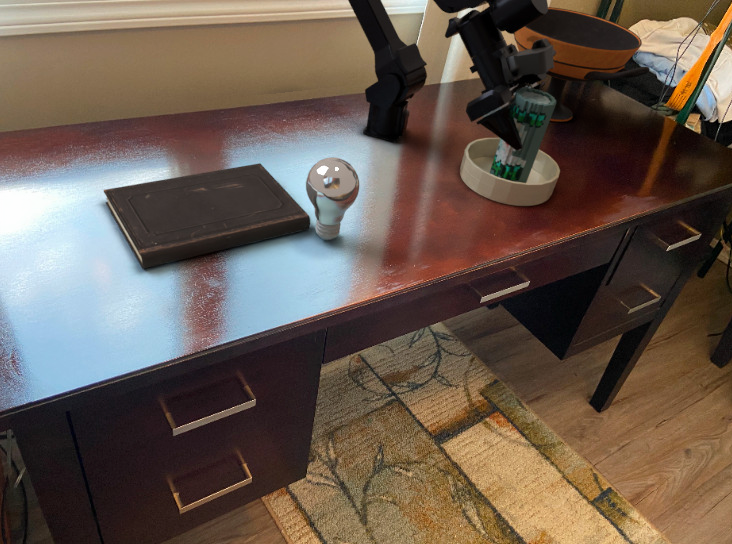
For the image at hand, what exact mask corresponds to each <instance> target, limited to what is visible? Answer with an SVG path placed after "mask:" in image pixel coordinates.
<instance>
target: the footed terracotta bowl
mask: <svg viewBox="0 0 732 544" xmlns="http://www.w3.org/2000/svg"><path fill="white" fill-rule="evenodd" d="M512 35H513V36H514V41H515V44H516V48H517V50H518V51H524V50H527V49H531V48H532V45H533V43H534V42H535V41H537V40H540V39H546V38H547V40H548V42H549V43H550V45H553V49H554V50H555V51H556V55H555V56H553V62H554V68H553V69H549V70H548V72H547V73H546V74H547V76H548V77H551V78H550V82H549V84H548V86H547V89H546V91H545V92H547V93H548V94H550V95H551V96H553V97H554V98H555V100H557V101H556V105H555V108H554V111H553V113H552V116H551V119H550V121H551V122H568V121H570V120H572V119H573V116H574V114H573V111H571V109H570V108H568V107H566V106H565V105H563V104H562V98H563V93H564V89H565V86H566V84H567V82H576V83H578V82H579V83H587V82H594V81H596V82H597V81H600V82H601V81H614V80H619V79H632V78H637V77H640V76H644V75H645V74H648V73H649V72H650V71H651V69H650V67H649V66H641V67H637V68H636V67H635V68H632V69H625V67H626V65H627V63H628V62H629V60H630V59H631V58H632V57H633V56H634V55H635V53H637V51H638V50H639V49H640V48H641V46H642V45H643V42H642V39H641V38H640V37H639V36H638V35H637V34H636V33H635V32H633V31H632V30H630V29H628V28H627V27H625V26H623V25H621V24H619V23H616V22H614V21H611V20H608V19H605V18H602V17H600V16H597V15H593V14H589V13H585V12H580V11H576V10H572V9H567V8H566V9H565V8H560V7H551V6H548V11H547V13H546V14H544V15H543V16H541V17H539V18H538V19H536V20H534V21H533V22H531V23H530V24H528V25H526V26H525V27H523V28H521V29H520V30H518V31H517V32H515V33H513V34H512ZM550 121H549V122H550Z"/></svg>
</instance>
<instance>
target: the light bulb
mask: <svg viewBox="0 0 732 544" xmlns="http://www.w3.org/2000/svg"><path fill="white" fill-rule="evenodd" d="M305 191H306V196H307V197H308V200H309V201H310V203H311V205H312V206H313V209H314V215H315V216H314V217H315V222H316V223H315V229H314V230H315V232H316V234H317V236H318V237H320V238H321V239H322V240H324V241H331V240H333V239H335V238H337V237H338V236H339V234H340V232H341V224H342V223H341V222H342V221H343V220H344V217H345V214H346V212H347V211H348V209H350V208H351V207H352V206H353V204H354V203H355V201H356V199H357V198H358V195H359V192H360V179H359V175H358V173H357V171H356V170H355V168H354V166H352V165H351V164H350V163H349V162H348V161H347V160H345V159H343V158H339V157H334V156H333V157H325V158H323V159H321V160H318V161H317V162H315V164H313V165H312V167H311V168H310V169H309V171H308V173H307V176H306V180H305Z"/></svg>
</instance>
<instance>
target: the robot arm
mask: <svg viewBox="0 0 732 544" xmlns="http://www.w3.org/2000/svg"><path fill="white" fill-rule="evenodd" d="M347 1H348V3H349V5H350V7H351V9H352V12H353V13H354V15H355V18H356V19H357V21H358V23H359V25H360V27H361V29H362V31H363V33H364V35H365V37H366V39H367V41H368V44H369V45H370V47H371V49H372V51H373V54H374V73H375V76H376V79H377V81H375V82H374V83H373V84H370V85H369V86H368V87H366V88H365V89H364V95H365V100H366V102H367V103H369V106H368V107H369V108H368V114H367V121H366V126H365V127H364V128H363V130H362V134H364V135H367V136H371V137H375V138H378V139H381V140H385V141H388V142H392V143H397V142H398V141H399V139H400V138H402V137H403V136H404V135H405V133H406V132H407V128H408V123H409V117H410V113H411V111H410V110H408V106H409V101H408V100H410V99H413V98H414V96H415V94H416V93H417V92H419V91H421V90H422V89H423V88H424V86H425V85H426V81H427V78H428V73H427V72H428V71H427V69H426V66H427V65H428V64H427V62H426V61H425V60H424V59H423V57H422V55H421V52H420V48H419V46H418V45H417V43H415V42H413V43H411V44H408V45H407V44H406V43H405V42H404V41H403V40H401V38H400V37H399V35H398V33H397V31H396V28H395V27H394V24H393V22H392V19H391V18H390V16H389V14H388V11H387V10H386V8H385V6H384V4H383V1H382V0H347ZM432 1H433V2H434V3H435V5H436V6H437V7H438V8H439V9H440V10H441V11H442V12H444V13H446V14H457V13H459V12H462V11H465V10H467V9H471V10H470V11H468V12H467V13H466V14H464V15H462V16H461V17H457V16H453V17H451V18H449V19H448V24H447V28H446V30H445V33H444V37H445V38H446V39H449V38H451V37H454V36H457V35H459V37H460V39H461V42H462V44H463V45H464V48H465V50H466V52H467V54H468V56H469V58H470V60H471V62H472V64H473V65H471V66H469V71H470V73H471V74H474V73H477V74H478V75H477V76H478V77H479V79H480V81H481V83H482V85H483V88H484V89H483V90H482V91H480V93H481V95H479V96H477V97H476V98H473V99H472V100H470V101H469V102H467V104H466V107H465V113H466V115H467V117H468V119H469V121H470V122H471V123H473V122H474V121H475V123H476V124H477V125H481V126H482V127H484V128H485V129H487V130H488V131H490V132H491V133H493V134H494V135H495V136H497V138H501V139H502V140H503V141H505V142H506V143H507V144H508V145H510V146H511V147H512V148H514V149H515V150H516V151H517V150H520V149H522V147H523V146H522V142H521V139H520V136H519V133H518V130H517V127H516V124H515V121H514V118H513V115H512V114H513V110H514V106H515V102H516V101H514V102H513V99H514V96H515V93H516V90H518V89H519V88H530V89H533V88H534V89H538V90H541V91H543V88H544V86H545V85H546V83H547V82H546V80H545V79H546V78H548V77H549V75H547V74H546V73H547V72H548V70H549V69H553V68H554V62H553V56H555V55H556V51H555V50H554V49H553V45H550V43H549V42H548V40H547V38H546V39H540V40H537V41H535V42H534V43H533V45H532V48H531V49H527V50H524V51H519V49H518V47H517V45H515V44H513V43H510V44H507V41H506V40H505V37H504V35H503V33H502V32H506V33H508V34H510V35H514V34H513V33H515V32H517V31H518V30H520V29H521V28H523V27H525V26H526V25H528V24H530V23H531V22H533V21H534V20H536V19H538V18H539V17H541V16H543V15H544V14H546V13H547V11H548V7H549V4H548V0H432ZM487 4H488V6H487V7H486V8H485V9H483V10H481V11H479V10H477V9H476V8H479V7H481V6H484V5H487ZM543 80H544V81H543ZM539 82H540V83H539Z"/></svg>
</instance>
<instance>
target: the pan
mask: <svg viewBox="0 0 732 544" xmlns="http://www.w3.org/2000/svg"><path fill="white" fill-rule="evenodd" d="M500 139H501V138H499V137H483V138H478V139H475V140H473V141H471V142H469V143H468V144H467V145H466V147H465V149H464V152H463V155H462V160H461V164H460V167H459V168H460V169H459V175H460V178H461V180H462V181H463V183H464V184H465V185H466V186H467V187H468V188H469V189H470V190H472V191H473V192H474V193H476V194H478V195H479V196H482V197H484V198H486V199H489V200H491V201H494V202H496V203H501V204H504V205H509V206H517V207H530V206H531V207H532V206H537V205H541V204H544V203H546V202H547V201H548V200H549V199H550V198H551V196H552V195H553V193H554V190H555V187H556V184H557V182H558V179H559V176H560V173H561V169H560V167H559V164H558V162H556V160H554V158H553V157H552V156H550V155H549V154H547V153H546V152H544V151H543V150H541V148H539V150H538V153H537V156H536V158H535V161H534V164H533V166H532V169H531V172H530V174H529V177H528V179H527V182H526V183H521V182H514V181H510V180H506V179H503V178H499V177H497V176H494V175H492V174H490V173H489V172H490V169H491V166H492V163H493V160H494V157H495V154H496V151H497V148H498V145H499V142H500Z"/></svg>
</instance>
